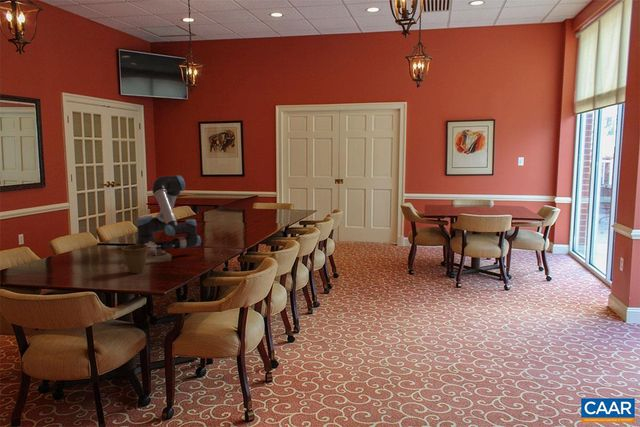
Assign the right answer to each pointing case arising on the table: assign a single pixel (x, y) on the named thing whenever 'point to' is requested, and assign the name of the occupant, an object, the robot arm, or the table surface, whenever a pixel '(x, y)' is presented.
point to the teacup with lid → (151, 253)
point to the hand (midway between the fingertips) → (147, 247)
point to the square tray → (159, 257)
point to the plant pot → (135, 257)
